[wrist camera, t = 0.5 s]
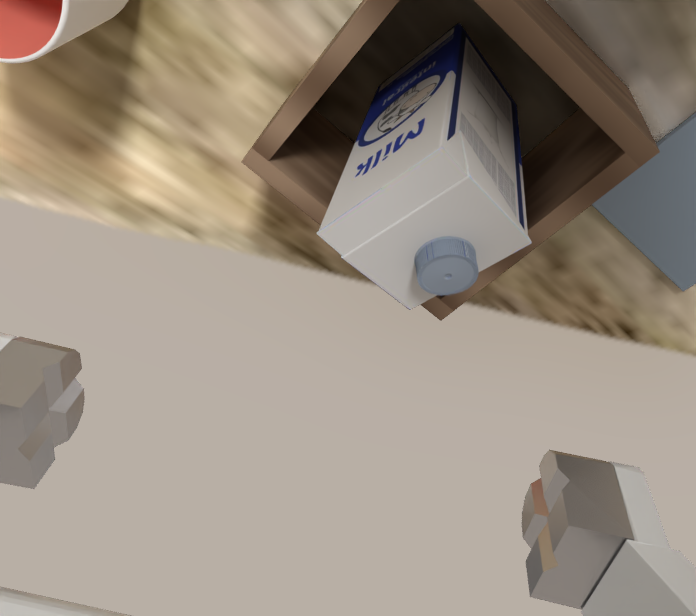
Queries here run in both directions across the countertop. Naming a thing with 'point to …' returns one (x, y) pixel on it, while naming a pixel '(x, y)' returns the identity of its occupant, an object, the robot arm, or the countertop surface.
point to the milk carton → (432, 177)
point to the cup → (48, 24)
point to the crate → (537, 166)
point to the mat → (661, 206)
